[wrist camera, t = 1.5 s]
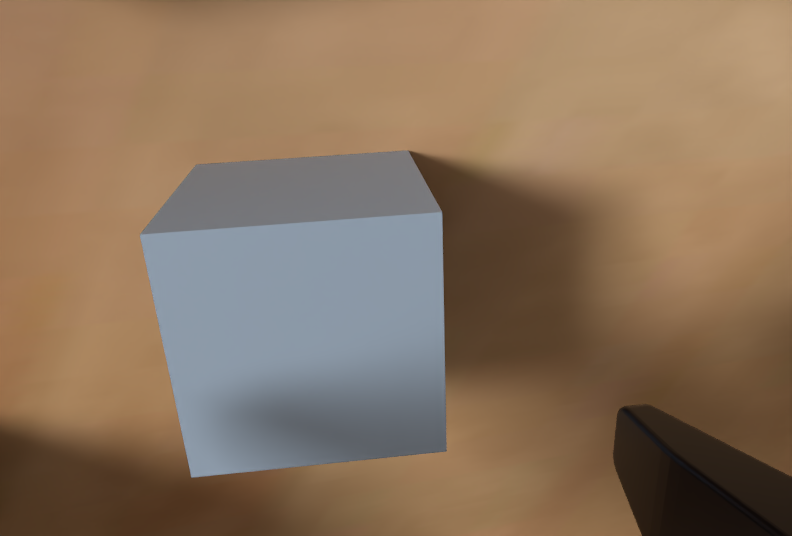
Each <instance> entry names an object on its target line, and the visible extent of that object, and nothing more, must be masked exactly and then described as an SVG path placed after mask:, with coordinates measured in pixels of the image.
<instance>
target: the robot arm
mask: <svg viewBox="0 0 792 536" xmlns="http://www.w3.org/2000/svg"><path fill="white" fill-rule="evenodd" d="M613 459H614V465H615V469H616V472H617V474H618V477H619V479H620V482H621V484H622V487H623V489H624V492H625V494H626V497H627V499H628V502H629V504H630V507H631V509H632V512H633V514H634V517H635V519H636V522H637V525H638V527H639V530H640V532H641V535H642V536H792V477H791V476H789V475H787V474H785V473H783V472H781V471H779V470H777V469H775V468H773V467H771V466H769V465H767V464H765V463H763V462H761V461H759V460H757V459H755V458H753V457H751V456H749V455H747V454H745V453H743V452H741V451H739V450H738V449H736V448H734V447H732V446H730V445H728V444H726V443H724V442H722V441H720V440H718V439H716V438H714V437H712V436H710V435H708V434H706V433H704V432H702V431H700V430H698V429H696V428H694V427H692V426H690V425H688V424H686V423H684V422H683V421H681V420H679V419H677V418H675V417H673V416H671V415H669V414H667V413H665V412H663V411H661V410H659V409H657V408H655V407H653V406H651V405H647V404H643V405H632V406H624V407H622V408H621V409H620V410H619V412H618V414H617V421H616V430H615V440H614V450H613Z"/></svg>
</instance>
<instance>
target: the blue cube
mask: <svg viewBox="0 0 792 536" xmlns="http://www.w3.org/2000/svg"><path fill="white" fill-rule="evenodd" d="M140 238H141V243H142V247H143V252H144V257H145V261H146V266H147V271H148V275H149V280H150V285H151V290H152V294H153V299H154V304H155V308H156V313H157V318H158V323H159V327H160V332H161V337H162V341H163V346H164V351H165V355H166V360H167V365H168V370H169V374H170V379H171V384H172V388H173V393H174V398H175V402H176V407H177V412H178V417H179V421H180V426H181V431H182V435H183V440H184V445H185V450H186V454H187V459H188V464H189V468H190V473H191V478H193V477H202V476H212V475H222V474H232V473H241V472H251V471H261V470H270V469H280V468H290V467H299V466H309V465H319V464H329V463H338V462H348V461H358V460H367V459H377V458H387V457H397V456H406V455H416V454H426V453H435V452H445V451H447V450H446V395H445V339H444V284H443V229H442V211H441V209H440V207H439V205H438V204H437V202H436V200H435V198H434V196H433V195H432V193H431V191H430V189H429V187H428V186H427V184H426V182H425V180H424V178H423V177H422V175H421V173H420V171H419V169H418V168H417V166H416V164H415V162H414V160H413V158H412V157H411V155H410V153H409V151H393V152H378V153H363V154H348V155H333V156H318V157H303V158H288V159H273V160H258V161H243V162H228V163H213V164H198V165H195V167H194V168H193V169H192V170H191V172H190V173H189V174H188V175H187V177H186V178H185V179H184V180H183V182H182V183H181V184H180V185H179V187H178V188H177V189H176V190H175V192H174V193H173V194H172V195H171V197H170V198H169V199H168V200H167V201H166V203H165V204H164V205H163V206H162V208H161V209H160V210H159V211H158V213H157V214H156V215H155V216H154V218H153V219H152V220H151V221H150V223H149V224H148V225H147V226H146V228H145V229H144V230H143V231H142V233H141V234H140Z"/></svg>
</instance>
